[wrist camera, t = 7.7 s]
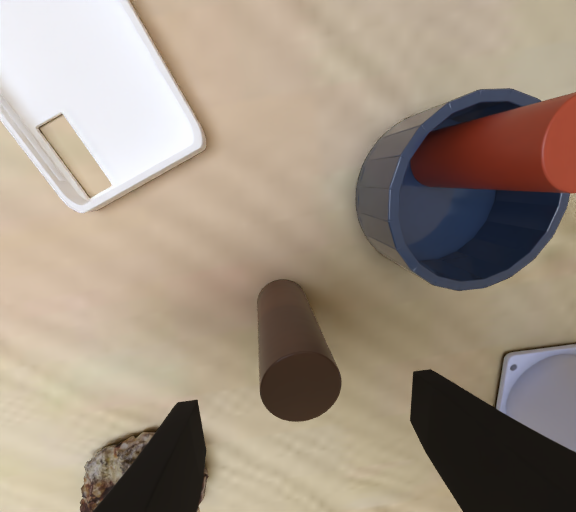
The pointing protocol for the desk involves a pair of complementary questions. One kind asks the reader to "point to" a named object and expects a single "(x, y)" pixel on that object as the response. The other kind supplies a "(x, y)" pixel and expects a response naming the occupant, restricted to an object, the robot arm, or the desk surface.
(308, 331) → the walnut peg
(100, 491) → the mineral rock
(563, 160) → the red peg
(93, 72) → the phone case
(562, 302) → the desk surface
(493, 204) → the blue cup
